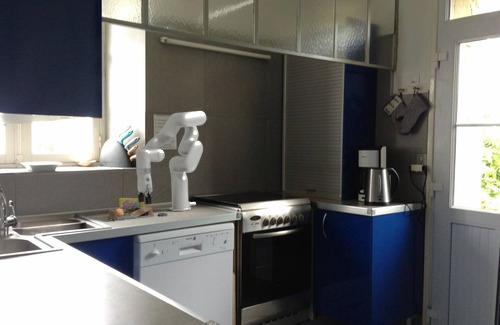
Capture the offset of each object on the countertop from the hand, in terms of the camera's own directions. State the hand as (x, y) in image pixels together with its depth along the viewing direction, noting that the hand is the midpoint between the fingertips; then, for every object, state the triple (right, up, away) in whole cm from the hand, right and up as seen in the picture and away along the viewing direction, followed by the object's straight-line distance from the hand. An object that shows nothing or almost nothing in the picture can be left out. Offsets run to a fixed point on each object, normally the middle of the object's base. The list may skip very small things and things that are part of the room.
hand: (144, 202), depth 256 cm
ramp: (-6, -8, -4) cm, 11 cm away
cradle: (+10, -7, 0) cm, 12 cm away
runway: (-6, -8, -4) cm, 11 cm away
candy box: (-11, -7, +15) cm, 20 cm away
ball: (-12, -5, -8) cm, 15 cm away
